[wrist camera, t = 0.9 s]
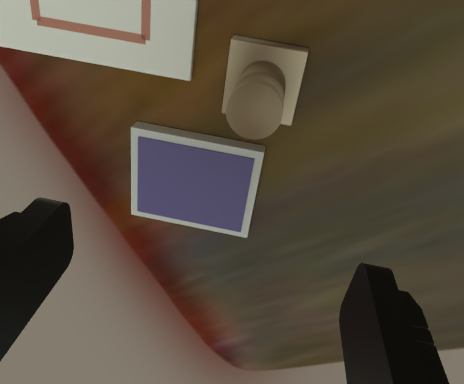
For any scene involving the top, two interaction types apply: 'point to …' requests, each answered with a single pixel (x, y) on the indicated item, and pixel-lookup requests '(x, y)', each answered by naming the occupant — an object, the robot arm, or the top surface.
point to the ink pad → (194, 178)
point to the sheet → (106, 32)
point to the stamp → (262, 85)
